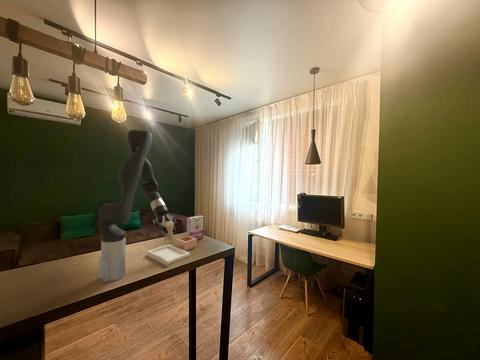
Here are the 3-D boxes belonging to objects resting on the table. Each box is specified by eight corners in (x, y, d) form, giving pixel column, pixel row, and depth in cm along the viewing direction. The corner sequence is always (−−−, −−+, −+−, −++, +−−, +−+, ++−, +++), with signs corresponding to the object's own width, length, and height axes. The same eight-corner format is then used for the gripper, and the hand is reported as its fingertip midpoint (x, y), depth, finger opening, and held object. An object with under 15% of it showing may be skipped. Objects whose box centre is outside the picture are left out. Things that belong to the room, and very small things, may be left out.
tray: (167, 266, 99) (167, 261, 99) (147, 255, 111) (147, 250, 111) (189, 257, 111) (189, 252, 110) (168, 248, 122) (169, 244, 122)
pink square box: (184, 252, 117) (185, 242, 117) (175, 248, 122) (175, 238, 122) (196, 247, 124) (197, 238, 124) (187, 244, 130) (187, 235, 130)
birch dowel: (167, 245, 108) (167, 223, 107) (162, 243, 110) (163, 222, 110) (174, 243, 111) (174, 222, 111) (169, 241, 114) (170, 220, 113)
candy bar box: (199, 237, 145) (200, 215, 144) (203, 238, 141) (204, 216, 141) (186, 240, 137) (186, 217, 137) (189, 242, 134) (190, 218, 133)
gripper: (150, 205, 108) (162, 231, 102) (172, 202, 120) (184, 226, 113) (145, 213, 112) (156, 239, 105) (167, 210, 123) (178, 233, 117)
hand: (170, 232), depth 109 cm, fingers closed on birch dowel, 4 cm apart
